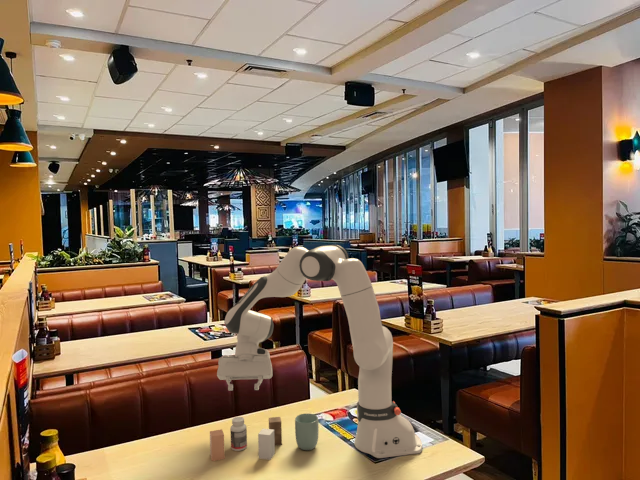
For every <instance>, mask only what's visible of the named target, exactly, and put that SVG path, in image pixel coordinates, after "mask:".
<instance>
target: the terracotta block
mask: <svg viewBox="0 0 640 480" xmlns="http://www.w3.org/2000/svg"><path fill="white" fill-rule="evenodd" d="M209 448H210V449H209V450H210V459H211V461H212V462H214V461H220V460H225V459H226V456H225V452H226V451H225V434H224V431H223V429H222V428H221V429H216V430H211V431H209Z"/></svg>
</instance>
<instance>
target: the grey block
mask: <svg viewBox="0 0 640 480" xmlns="http://www.w3.org/2000/svg"><path fill="white" fill-rule="evenodd" d="M257 440H258V442H257V444H258V459H262V460H270V461H271V460H272V459H273V457H274V456H275V454H276V453H275V452H276V451H275V450H276V449H275V448H276V447H275V446H276V445H275V440H274V430H273V429H269V428H262V429H261V430H260V431H259V433H258V435H257Z"/></svg>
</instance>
